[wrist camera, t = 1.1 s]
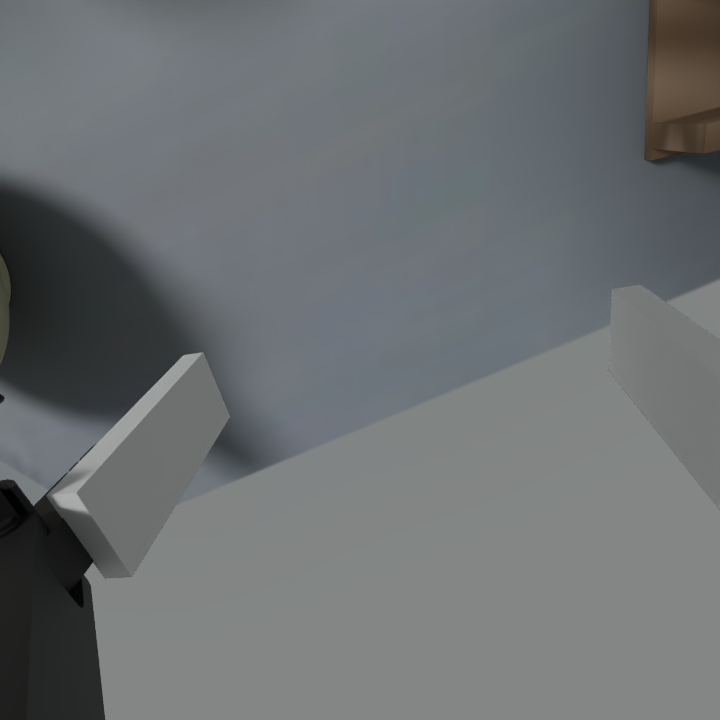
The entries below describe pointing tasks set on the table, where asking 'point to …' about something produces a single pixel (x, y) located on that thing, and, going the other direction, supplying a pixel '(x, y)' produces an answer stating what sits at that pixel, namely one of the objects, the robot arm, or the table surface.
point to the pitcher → (4, 310)
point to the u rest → (683, 78)
